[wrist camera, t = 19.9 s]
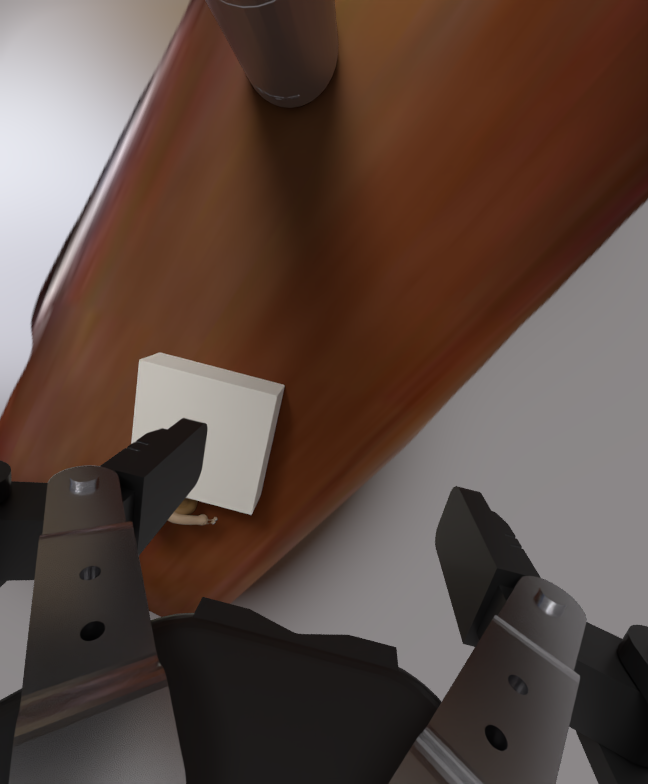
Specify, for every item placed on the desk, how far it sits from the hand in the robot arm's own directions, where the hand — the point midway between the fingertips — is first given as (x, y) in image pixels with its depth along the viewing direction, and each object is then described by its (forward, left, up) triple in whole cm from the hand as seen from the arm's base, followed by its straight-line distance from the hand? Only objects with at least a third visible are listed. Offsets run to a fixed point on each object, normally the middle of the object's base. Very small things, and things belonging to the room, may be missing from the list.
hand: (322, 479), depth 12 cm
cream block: (+16, -14, -34) cm, 40 cm away
